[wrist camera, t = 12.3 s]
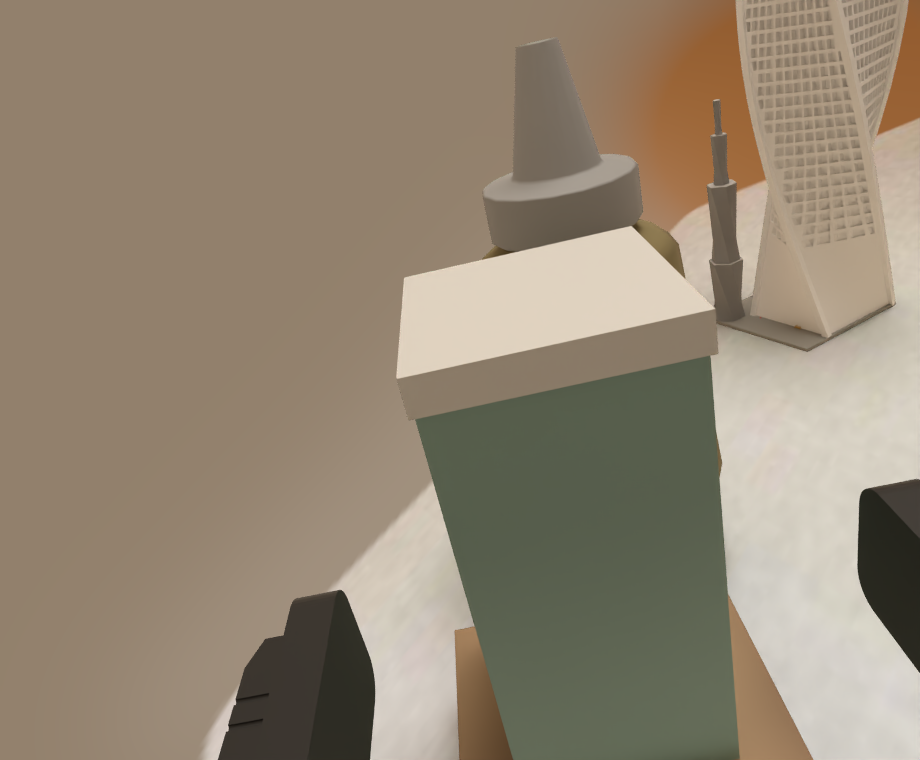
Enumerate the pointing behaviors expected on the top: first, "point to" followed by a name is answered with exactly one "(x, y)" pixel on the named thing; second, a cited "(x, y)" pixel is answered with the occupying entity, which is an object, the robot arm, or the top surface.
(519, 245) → the squeeze bottle
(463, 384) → the tin
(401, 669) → the top surface
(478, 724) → the brown wooden bridge block
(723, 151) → the skyscraper
